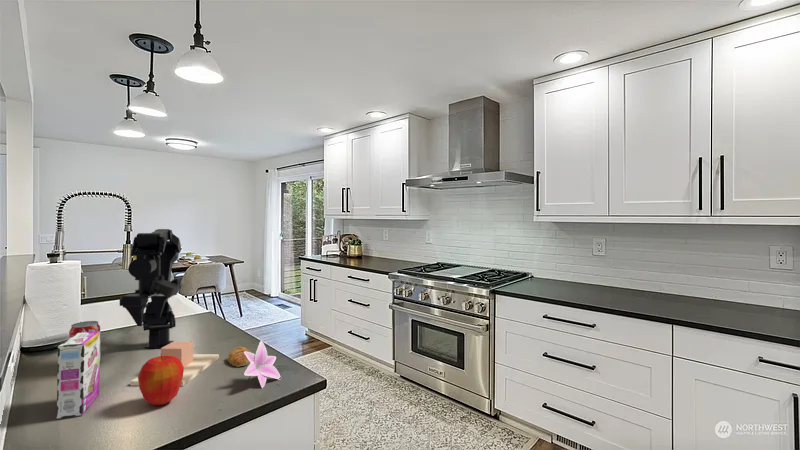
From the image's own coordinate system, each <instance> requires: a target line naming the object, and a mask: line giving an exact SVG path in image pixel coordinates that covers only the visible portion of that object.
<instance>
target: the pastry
mask: <svg viewBox="0 0 800 450" xmlns="http://www.w3.org/2000/svg"><path fill="white" fill-rule="evenodd" d="M244 351H247V352H251V351H250V350H249V348H246V347H243V346H237V347H235V348H233V349H232V350H231V351H230V352H229V354H228V356H227V362H228V364H230V365H231V364H232V365H231V366H233V367H234V366H236V367H235V368H240V367H243V366H244V367H245V366H248V365H249V364H250V361H249V360H248V358H247V357H246V355H245V354H244ZM247 364H248V365H247Z"/></svg>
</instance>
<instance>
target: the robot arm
mask: <svg viewBox="0 0 800 450" xmlns="http://www.w3.org/2000/svg"><path fill="white" fill-rule="evenodd" d="M181 250H182V244H181V241H180V238H179V237H178V236H176V235H175V234H174V233H173V230H172V229H170V228H157V229H155V230H154V231H152V232H141V233H140V232H139V233H137V234H136V236H134V238H133V243H132V246H131V252H130V256H131V257H136V258H135V259H132V260H131V262H130V263H129V265H128V273H129V274H130V276H132V277H134V280H135V281H138V289H135V291H134V293H128V294H125V295H123V296H121V297H120V298H119V306H120V307H122V308H124V309H125V310H126V311H127V312H128V313H129V315H130V316H131V318H132V319H133V322H135V324H136V326H137V327H142V326H143V331H148V332H149V333H148V344H147V345H144V349H161V348H163V347H164V346H166V345H168V344H170V343H172V342H175V340H170V329H173V328H176V327H177V326H176V323H177V322H176V316H175V314H174V311H173V308H172V306H171V305H170V304H169V302H168V301H169V299H170V298H172V297H174V296H177V295H178V292H179V290H181V289H182V283H181V282H182V281H181V279H179V278H174V279H172V278H171V277H172V268H173V264H175V262H177V260H178V259H179V253H181ZM149 298H150V300H151V301H149Z"/></svg>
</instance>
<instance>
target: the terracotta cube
mask: <svg viewBox="0 0 800 450" xmlns="http://www.w3.org/2000/svg"><path fill="white" fill-rule="evenodd" d="M161 354H162V356H175V357H176V358H178V359H179V360H180V361H181V362H182V364H183V367H186V366H187V365H189V364H190V363H191V362H193V354H194V342H193V341H174V342H172V343H170V344H168V345H166V346H164V347H163V348H160V355H161Z"/></svg>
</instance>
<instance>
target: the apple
mask: <svg viewBox="0 0 800 450" xmlns="http://www.w3.org/2000/svg"><path fill="white" fill-rule="evenodd" d="M183 372H184V367H183V364H182V362H181V361H180V360H179V359H178V358H176V357H175V356H162V354H161V353H160V355H159V356H156V357H151V358H150V359H148V360H147V361H146V362H145V363H144V364H142V366H141V369H140V371H139V373H138V376H137V377H138V381H139V386H138V387H139V391H140V393H141V395H142V397H143V399H144V401H145V402H146V403H148V404H151V405H153V406H164V405H167V404H168V403H170V402H171V401H172V400H174V398H176V397H177V395H178V393H179V392H180V391H179V390H180V388H181V386H180V385H181V383H182V379H183Z"/></svg>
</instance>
